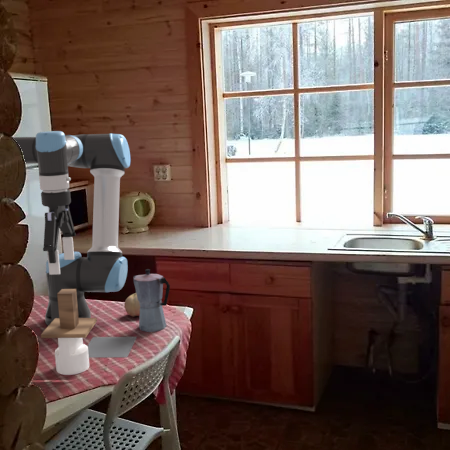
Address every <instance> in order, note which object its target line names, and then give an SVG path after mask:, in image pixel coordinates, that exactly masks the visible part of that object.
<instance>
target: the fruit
mask: <svg viewBox="0 0 450 450" xmlns="http://www.w3.org/2000/svg"><path fill="white" fill-rule="evenodd" d="M124 309H125V312H126V313H127V314H128V315H129V316H130V317H140V304H139V301H138V298H137V294H136V292H135V293H132V294H130V295H129V296H128V297H127V298H126V299H125V301H124Z"/></svg>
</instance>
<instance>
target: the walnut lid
mask: <svg viewBox="0 0 450 450" xmlns="http://www.w3.org/2000/svg"><path fill="white" fill-rule="evenodd" d="M57 297H58V308H59V318H55V319H54V320H53V321H52V322H51V324H50V325H49V326H48V325H47V327H46V328H44V330H43V331H42V333H40V338H41V339H58V338H83V339H86V338H87V336H88V335H89V334H90V332H91V331H92V329H93V328H94V326H96V325H95V324H96V323H97V322H98V319H97V317H91V318H79V317H78V305H77V293H76V289H61V290H60V291H59V292H58V293H57Z"/></svg>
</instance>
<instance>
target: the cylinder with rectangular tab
mask: <svg viewBox="0 0 450 450" xmlns="http://www.w3.org/2000/svg"><path fill="white" fill-rule="evenodd" d="M83 339H84V338H57V342H58V343H57V344H58V347H57V348H55V350H54V358H55V359H54V360H55V370H56V372H57V373H58V374H61V375H64V376H71V375H77V374H81V373H84V372H85V371H87V370H89V368H90V358H89V354H88V344H87V345H86V344H85V343H84V340H83Z"/></svg>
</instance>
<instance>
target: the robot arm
mask: <svg viewBox="0 0 450 450" xmlns="http://www.w3.org/2000/svg"><path fill="white" fill-rule="evenodd" d="M12 137H13V138H14V139H15V140H16V141H17V143H18V144H19V145H20V147H21V149H22V151H23V155H24V159H25V162H26V164H25V165H29V164H31V165H33V164H37V165H38V167H37V169H38V179H39V180H38V181H39V188H40V190H41V193H40V197H41V198H40V199H41V205H42V206H43V207H48V212H44V233H43V234H44V235H43V247H42V250H43V252H46V253H47V259H46V262H45V263H46V264H45V273H46V284H47V294H48V304H47V308H46V312H45V315H44V319H45V320H44V321H45V324H46V325H47V327H48V326H49V325H50V324H51V322H52V321H53V320H54V319H55V318H59V308H58V297H57V293H58V292H59V291H60V290H61V289H76V293H77V305H78V317H79V318H92V316H91V315H92V314H91V310H90V307H89V306H88V302H87V300H86V298H85V292H87V293H90V292H91V293H110V292H111V293H112V292H113V293H115V292H119V291H120V290H122V289H123V287H124V286H125V283H126V280H127V277H128V268H129V267H128V259H127V258H126V257H125V256H123V251H122V250H121V249H120V247H119V222H120V221H119V219H120V193H121V192H120V189H121V188H120V185H121V184H120V183H121V178H122V176H124V175H125V169H128V168H129V167H131V162H132V161H131V160H132V159H131V152H130V151H131V150H130V146H129V144H128V140H127V139H126V137H125V136H124V135H123V134H120V133H112V132H111V133H96V134H95V133H94V134H93V133H91V134H90V133H89V134H88V133H87V134H85V133H83V134H75V135H71V134H65V133H64V132H63V131H61V130H54V131H53V130H50V131H40V132H37V133H36V134H35V136H12ZM69 167H72V168H77V169H78V168H80V169H90V170H89V172H90V174H91V175H92V176H93V177H94V183H93V186H94V187H93V210H92V211H93V212H92V214H93V215H92V218H93V219H92V245H91V247H90V248H89V249H88V250H87V252H86V253H87V254H86V256H83V257H82V254H81V252H79V251H75V250H74V239H73V237H76V235H77V234H76V232H75V231H76V230H75V226H74V223H73V219H72V215H71V210H70V204H71V203H72V198H71V190H69V189H70V181H71V180H72V178H71V177H69ZM60 231H61V233H62V235H63V237H61V238H62V239H61V240H62V248H63V249H62V250H63V253H60V252H59V249H58V243H59V236H60Z"/></svg>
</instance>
